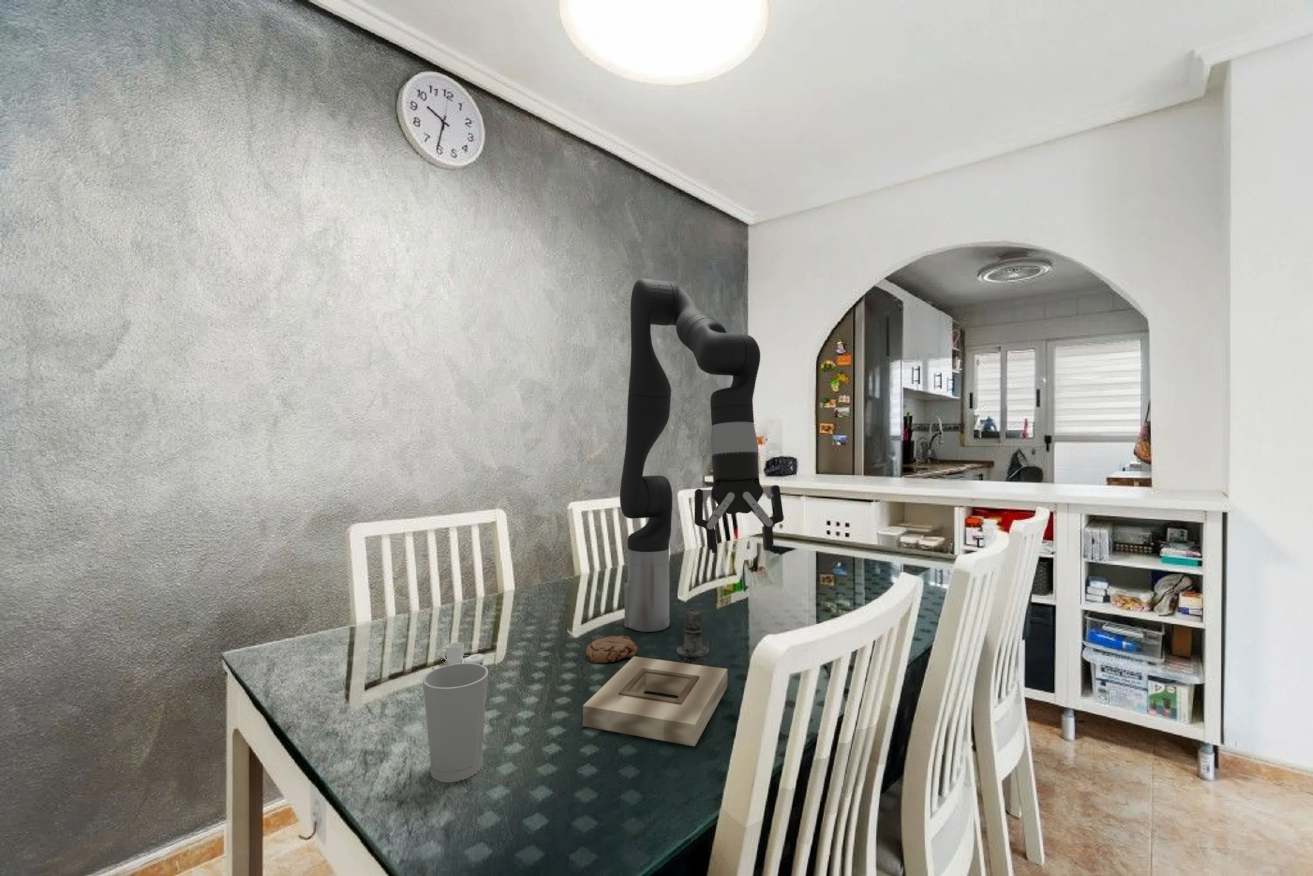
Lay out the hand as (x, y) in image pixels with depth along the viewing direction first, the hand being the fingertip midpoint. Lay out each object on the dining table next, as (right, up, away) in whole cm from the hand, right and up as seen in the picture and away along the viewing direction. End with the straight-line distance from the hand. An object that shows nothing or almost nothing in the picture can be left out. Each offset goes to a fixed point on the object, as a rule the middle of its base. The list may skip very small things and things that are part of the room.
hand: (740, 551), depth 95 cm
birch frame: (-13, -24, -3) cm, 27 cm away
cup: (-39, -24, -20) cm, 50 cm away
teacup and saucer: (-49, -24, +11) cm, 56 cm away
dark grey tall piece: (-7, -24, +11) cm, 27 cm away
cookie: (-22, -24, +19) cm, 38 cm away
